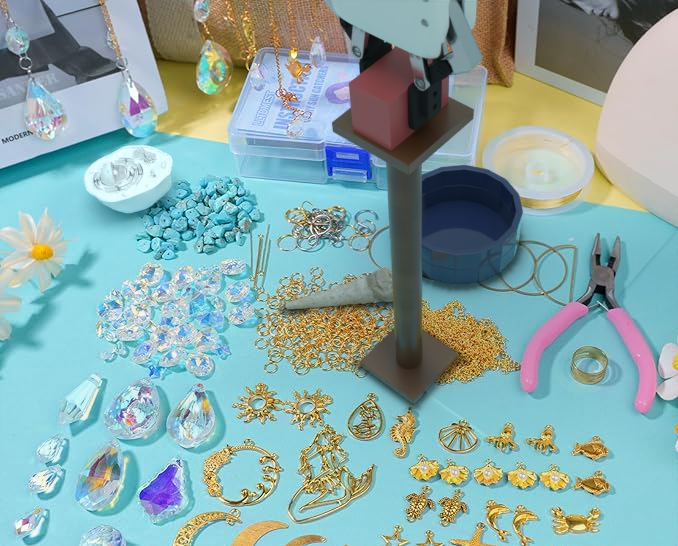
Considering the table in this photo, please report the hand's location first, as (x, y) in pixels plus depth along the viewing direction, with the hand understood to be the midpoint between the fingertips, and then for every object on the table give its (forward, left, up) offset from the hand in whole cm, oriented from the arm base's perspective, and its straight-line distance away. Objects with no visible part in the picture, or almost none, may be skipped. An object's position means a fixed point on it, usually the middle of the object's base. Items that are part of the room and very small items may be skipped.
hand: (400, 105), depth 65 cm
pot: (-18, -7, -37) cm, 42 cm away
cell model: (+3, -46, -37) cm, 59 cm away
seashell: (-2, -11, -37) cm, 39 cm away
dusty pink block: (0, 0, -1) cm, 1 cm away
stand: (0, 0, -37) cm, 37 cm away
